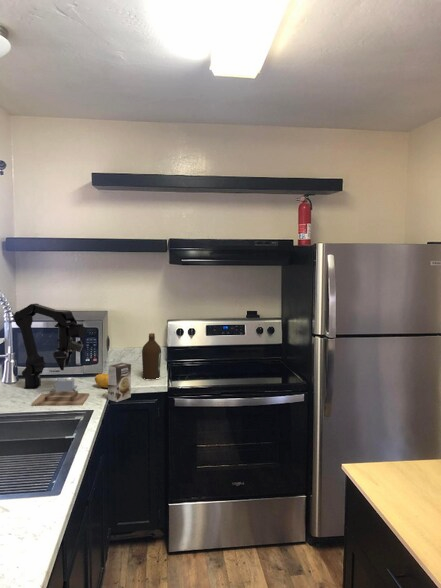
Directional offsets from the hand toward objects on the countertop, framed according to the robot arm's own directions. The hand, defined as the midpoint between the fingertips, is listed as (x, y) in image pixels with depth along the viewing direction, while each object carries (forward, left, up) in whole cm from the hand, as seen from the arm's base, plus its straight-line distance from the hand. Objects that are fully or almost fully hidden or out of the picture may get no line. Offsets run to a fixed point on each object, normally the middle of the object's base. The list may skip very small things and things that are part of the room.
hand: (64, 368), depth 214 cm
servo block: (0, 0, -12) cm, 12 cm away
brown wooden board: (+2, -14, -12) cm, 18 cm away
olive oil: (+41, +25, -12) cm, 49 cm away
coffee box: (+28, -12, -12) cm, 33 cm away
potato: (+20, +6, -12) cm, 24 cm away
